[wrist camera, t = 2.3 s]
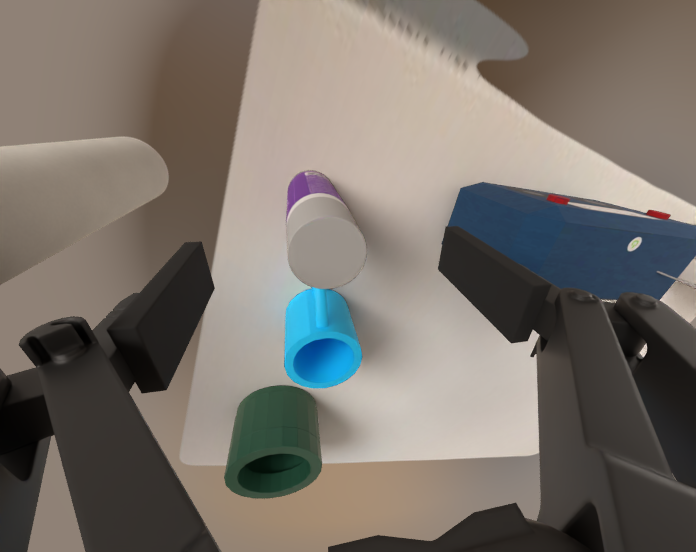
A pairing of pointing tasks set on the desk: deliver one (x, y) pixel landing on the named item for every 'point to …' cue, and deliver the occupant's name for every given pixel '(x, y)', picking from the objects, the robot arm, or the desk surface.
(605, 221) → the radio
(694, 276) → the cup
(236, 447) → the jar
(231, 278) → the desk surface
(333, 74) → the desk surface
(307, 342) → the mug
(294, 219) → the container
